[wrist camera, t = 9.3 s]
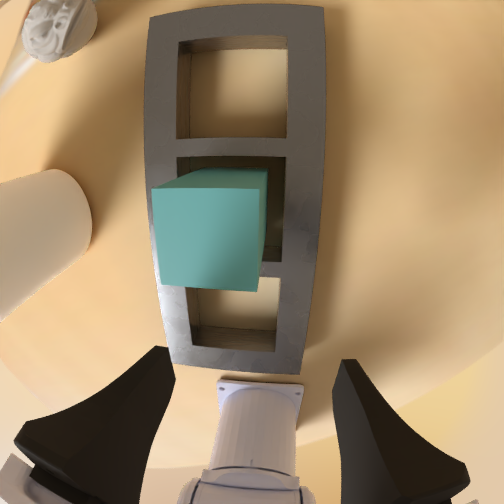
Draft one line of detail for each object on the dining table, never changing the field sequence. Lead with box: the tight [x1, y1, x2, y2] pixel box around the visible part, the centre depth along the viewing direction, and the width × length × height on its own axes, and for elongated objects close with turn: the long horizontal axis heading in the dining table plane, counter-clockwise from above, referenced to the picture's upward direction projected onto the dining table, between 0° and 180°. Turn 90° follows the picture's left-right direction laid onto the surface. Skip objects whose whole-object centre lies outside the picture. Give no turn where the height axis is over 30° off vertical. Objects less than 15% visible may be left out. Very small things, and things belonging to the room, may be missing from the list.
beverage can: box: [0, 169, 92, 323], centre depth 14 cm, size 8×8×12 cm
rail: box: [144, 4, 326, 375], centre depth 17 cm, size 24×10×2 cm, turn 0°
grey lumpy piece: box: [22, 0, 98, 63], centre depth 10 cm, size 6×7×7 cm
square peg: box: [151, 167, 268, 292], centre depth 14 cm, size 4×4×8 cm
